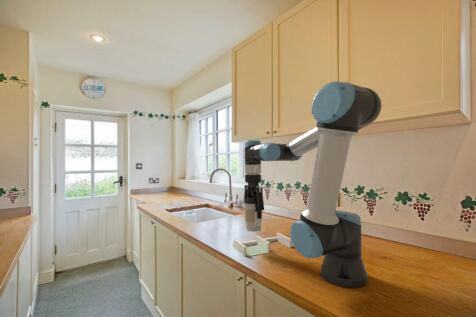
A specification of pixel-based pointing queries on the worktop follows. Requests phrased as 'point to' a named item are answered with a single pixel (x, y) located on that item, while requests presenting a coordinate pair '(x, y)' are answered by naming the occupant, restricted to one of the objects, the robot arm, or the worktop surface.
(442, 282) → the worktop surface
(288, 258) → the worktop surface
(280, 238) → the e-shaped divided frame
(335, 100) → the robot arm
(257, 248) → the pad
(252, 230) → the coffee cup
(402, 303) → the worktop surface
